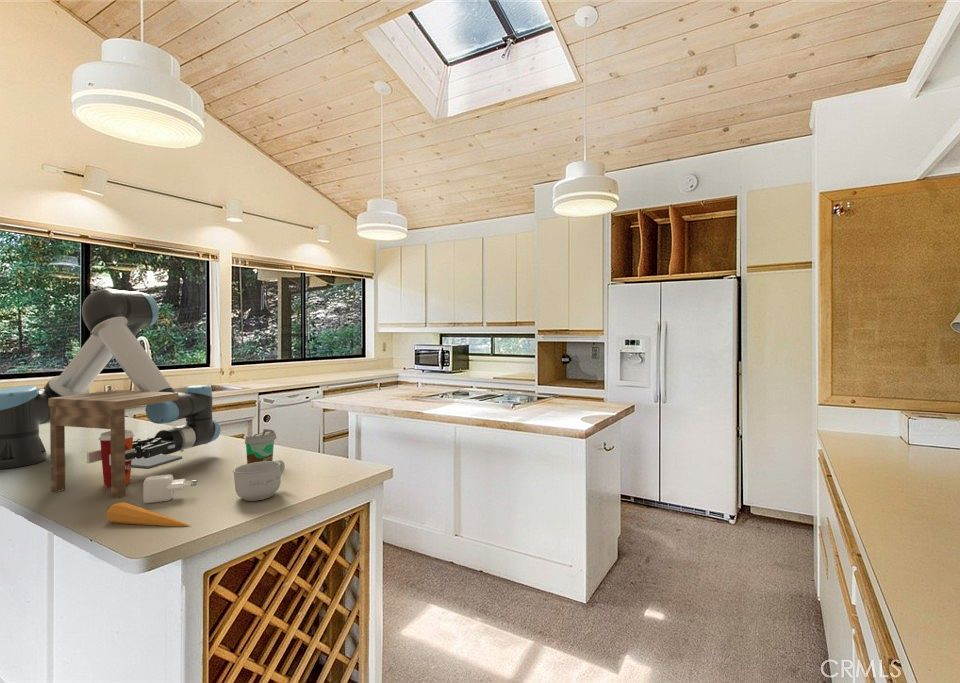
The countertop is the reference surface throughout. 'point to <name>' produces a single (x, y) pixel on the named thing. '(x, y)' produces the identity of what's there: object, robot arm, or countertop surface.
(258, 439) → the food container
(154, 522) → the carrot
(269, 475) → the teacup
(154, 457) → the slate mat
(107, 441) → the paper cup
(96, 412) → the canopy shelf
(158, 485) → the power adapter
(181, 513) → the countertop surface
